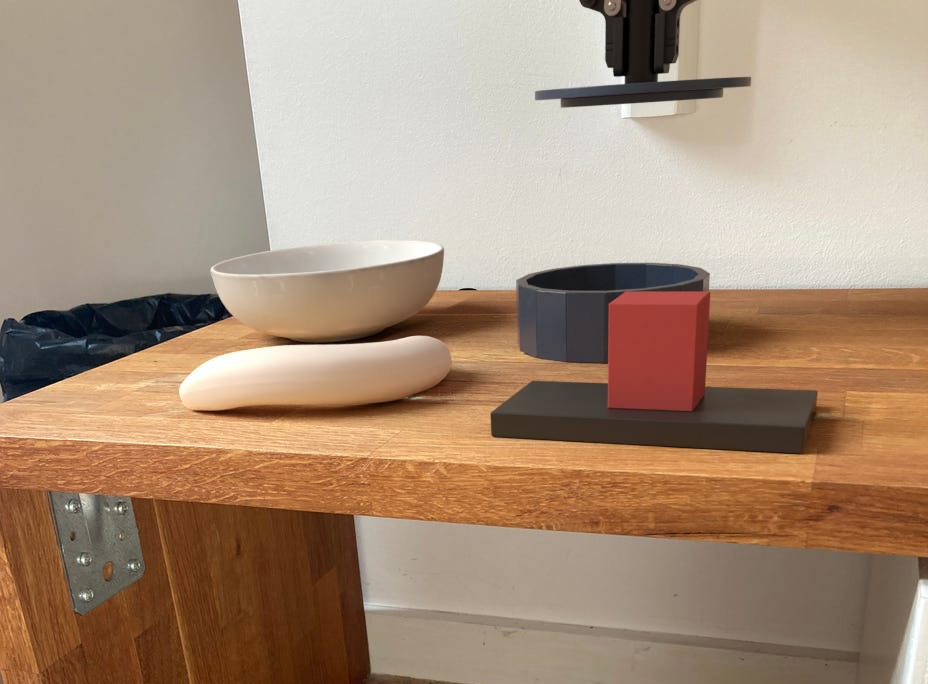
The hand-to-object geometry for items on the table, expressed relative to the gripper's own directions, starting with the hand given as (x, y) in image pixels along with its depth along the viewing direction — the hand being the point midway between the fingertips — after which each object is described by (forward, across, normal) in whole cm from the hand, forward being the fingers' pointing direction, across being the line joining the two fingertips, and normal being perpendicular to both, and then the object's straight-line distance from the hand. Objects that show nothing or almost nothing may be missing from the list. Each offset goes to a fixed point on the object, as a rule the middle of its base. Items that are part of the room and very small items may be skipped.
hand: (641, 73), depth 75 cm
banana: (+19, -18, -20) cm, 33 cm away
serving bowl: (+19, -28, +1) cm, 34 cm away
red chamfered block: (+18, +7, -24) cm, 31 cm away
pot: (+19, -1, -3) cm, 20 cm away
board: (+19, +7, -24) cm, 31 cm away
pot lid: (+1, 0, 0) cm, 1 cm away
